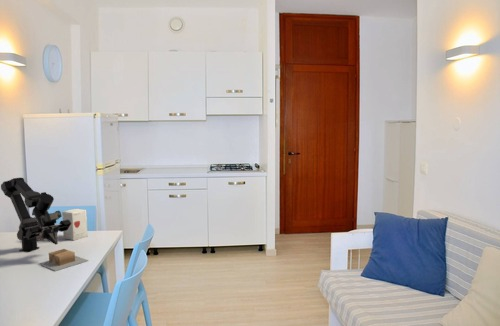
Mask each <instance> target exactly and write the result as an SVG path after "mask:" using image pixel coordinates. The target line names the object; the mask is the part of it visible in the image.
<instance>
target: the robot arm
mask: <svg viewBox="0 0 500 326" xmlns="http://www.w3.org/2000/svg"><path fill="white" fill-rule="evenodd" d="M0 189H1V191H2V192H3V194H4V195H5V196H6V197H7V198H10V200H11V203H12V206H13V208H14V211H15V212H16V214H17V217H18V219H19V226H18V230H17V233H16V237H17V239H18V240H20V241H21V242H20V243H21V248H20V249H19V251H20V252H24V253H25V252H26V253H29V252H32V251H36V250H38V249H40V247H39V246H38V243H37V241H38V240H36V237H37V236H39V235H40V233H41V234H42V235H41V238H45V239H46V240H47V241H49V242H51V243H52V244H54V245H55V246H56V245H58V244H59V239H58V233H59V232H62V233H63V231H66V230H68V229H69V227H70V225H71V222H70V220H68V219H67V220H63V219H62V220H60V221H59V223H58V224H57V220H59V219H60V218H61V217H62V218H63V215H62V212H61V211H60V210H56V211H54V212H51V213H49V211H48V210H50V208H51V206H52V204H53V202H54V201H55V199H54V197H53V195H52V194H49V193H47V192H46V191H43V192H38V191H34V190H33V189H32V188H31V187H30V185H29V184H28V183H27V182H26V181H25V178H24V177H13V178H11V179H9V180H6V181H3V182H2V183H1V184H0ZM31 208H32V212H31V215H30V213H29V210H28V209H31ZM32 216H33V217H32ZM40 227H41V228H40ZM45 239H44V240H45Z"/></svg>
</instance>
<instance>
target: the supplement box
mask: <svg viewBox="0 0 500 326" xmlns="http://www.w3.org/2000/svg"><path fill="white" fill-rule="evenodd" d="M61 215H62V221H63V220H67V219H68V220H70V222H71V225H70V227H69V229H68V230H66V231H62V234H63V239H66V240H70V241H77V240H79V239H83V238H84V239H85V238H87V237H88V220H87V219H88V217H87V210H86V209H81V208H73V209H69V210H63V211H62V212H61Z"/></svg>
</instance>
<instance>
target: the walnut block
mask: <svg viewBox="0 0 500 326" xmlns="http://www.w3.org/2000/svg"><path fill="white" fill-rule="evenodd" d="M75 253H76V252H74V251H71V250H69V249H65V248H62V249H58V250H55V251H51V252H48V259H49V261H48V263H49V262H52V263H54V264H57V265H59V266H61V265H64V264H67V263H70V262H74V261H75V256H76V255H75Z"/></svg>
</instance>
